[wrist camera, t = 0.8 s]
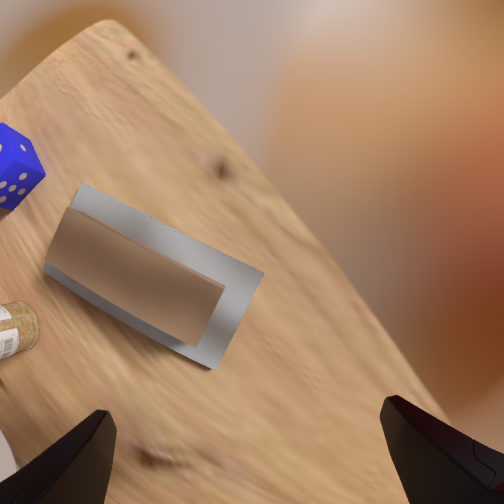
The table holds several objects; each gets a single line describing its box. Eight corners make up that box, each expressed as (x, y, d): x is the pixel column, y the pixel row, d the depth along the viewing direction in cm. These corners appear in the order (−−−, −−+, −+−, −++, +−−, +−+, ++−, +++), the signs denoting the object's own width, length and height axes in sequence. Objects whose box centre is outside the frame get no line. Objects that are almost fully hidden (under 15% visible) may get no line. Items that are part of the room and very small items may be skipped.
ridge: (216, 367, 22) (212, 388, 18) (48, 271, 22) (18, 272, 18) (262, 272, 23) (269, 274, 18) (86, 184, 22) (60, 170, 18)
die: (47, 175, 22) (15, 159, 17) (13, 211, 22) (-21, 202, 17) (30, 139, 22) (1, 120, 17) (-2, 174, 22) (-33, 161, 17)
